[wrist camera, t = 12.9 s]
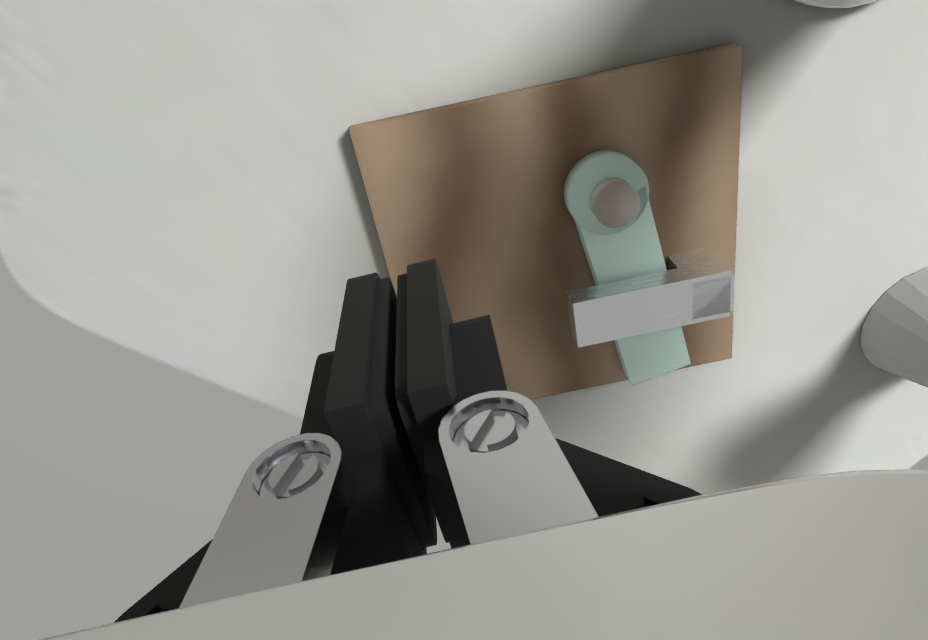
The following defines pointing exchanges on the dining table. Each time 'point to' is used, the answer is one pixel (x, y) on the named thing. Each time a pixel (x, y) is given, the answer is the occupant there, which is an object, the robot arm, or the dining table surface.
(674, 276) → the keeper
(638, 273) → the link
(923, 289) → the lava lamp
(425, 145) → the board
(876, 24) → the dining table surface
